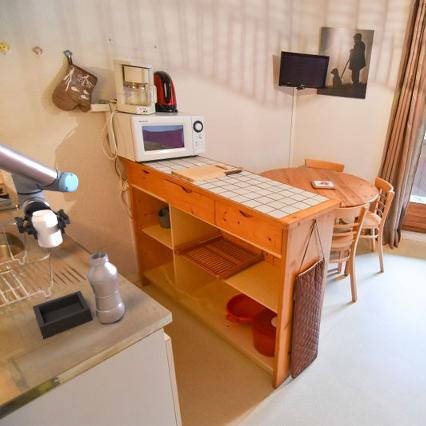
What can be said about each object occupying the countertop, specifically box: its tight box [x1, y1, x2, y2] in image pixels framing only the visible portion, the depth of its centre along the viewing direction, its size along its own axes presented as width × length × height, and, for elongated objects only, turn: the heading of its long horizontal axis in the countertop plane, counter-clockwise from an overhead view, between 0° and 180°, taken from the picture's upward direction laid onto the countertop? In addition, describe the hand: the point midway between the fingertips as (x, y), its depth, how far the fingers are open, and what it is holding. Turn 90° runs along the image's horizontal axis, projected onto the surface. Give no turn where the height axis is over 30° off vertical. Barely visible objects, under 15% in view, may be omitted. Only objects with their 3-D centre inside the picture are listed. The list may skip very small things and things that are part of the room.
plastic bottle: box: [86, 251, 126, 324], centre depth 84 cm, size 6×7×20 cm
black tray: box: [32, 290, 94, 340], centre depth 85 cm, size 10×10×4 cm
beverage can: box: [32, 209, 63, 249], centre depth 106 cm, size 6×6×12 cm
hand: (49, 232), depth 103 cm, fingers closed on beverage can, 6 cm apart
